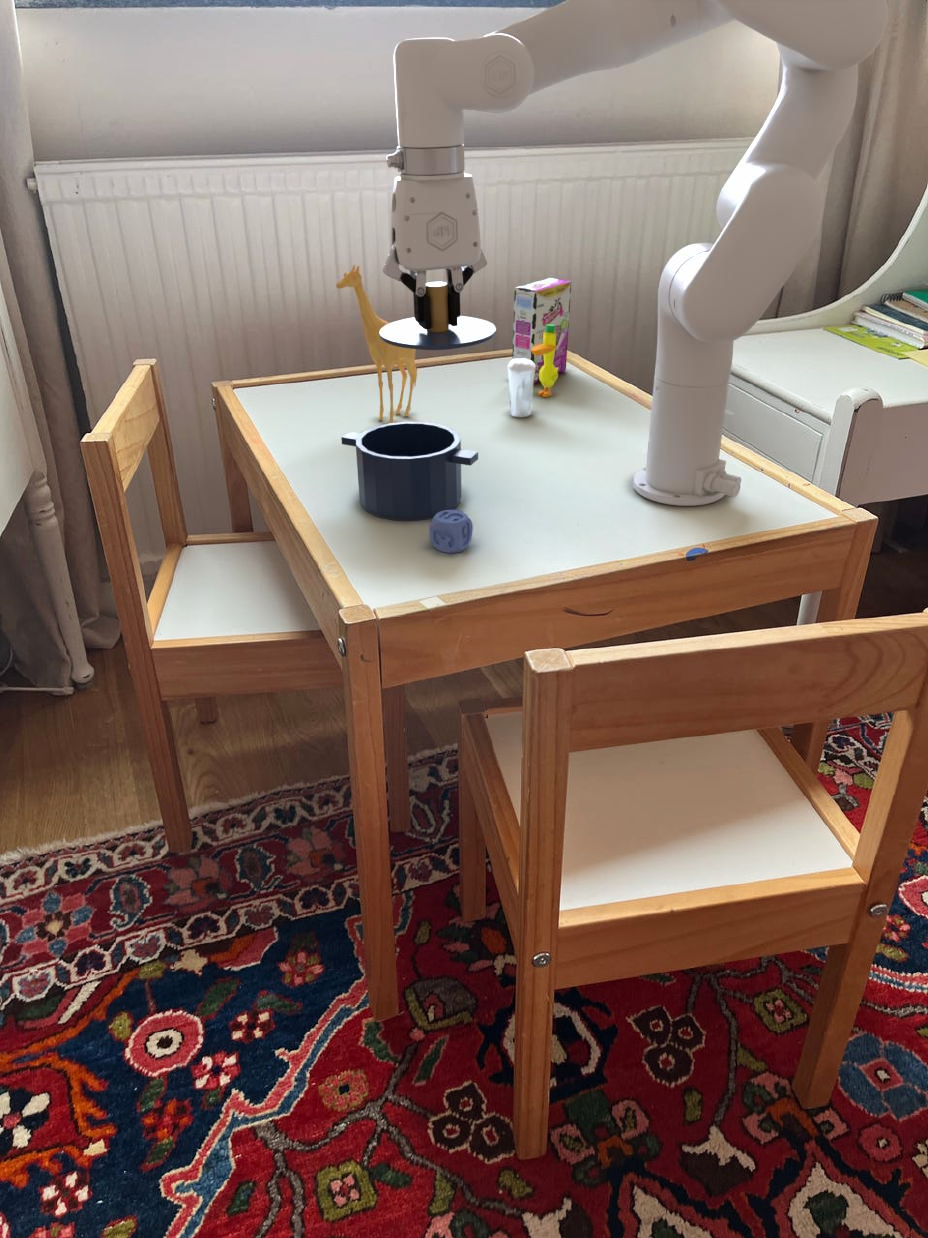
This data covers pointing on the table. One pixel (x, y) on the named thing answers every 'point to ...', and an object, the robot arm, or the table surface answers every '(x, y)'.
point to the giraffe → (382, 345)
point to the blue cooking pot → (409, 469)
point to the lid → (438, 327)
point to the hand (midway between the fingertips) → (437, 323)
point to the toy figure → (547, 359)
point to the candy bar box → (541, 320)
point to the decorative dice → (450, 531)
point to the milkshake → (521, 386)
